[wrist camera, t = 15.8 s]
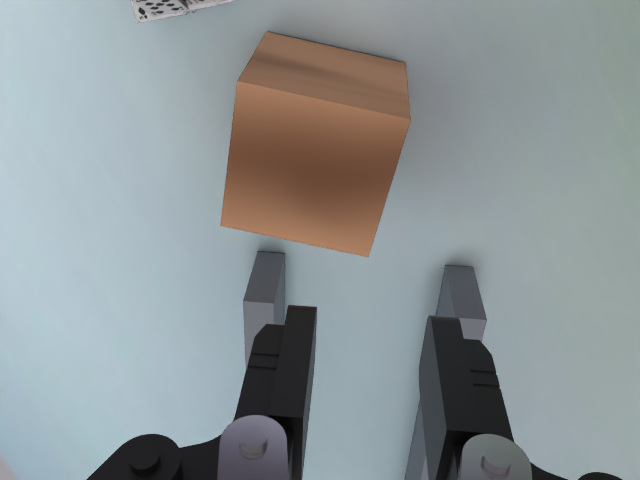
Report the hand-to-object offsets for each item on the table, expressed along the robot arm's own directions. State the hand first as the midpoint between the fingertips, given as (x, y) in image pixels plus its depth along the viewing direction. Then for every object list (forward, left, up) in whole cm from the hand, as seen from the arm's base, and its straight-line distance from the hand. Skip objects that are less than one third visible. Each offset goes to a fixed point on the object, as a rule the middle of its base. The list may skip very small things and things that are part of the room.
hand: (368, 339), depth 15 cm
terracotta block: (+2, +2, -10) cm, 10 cm away
